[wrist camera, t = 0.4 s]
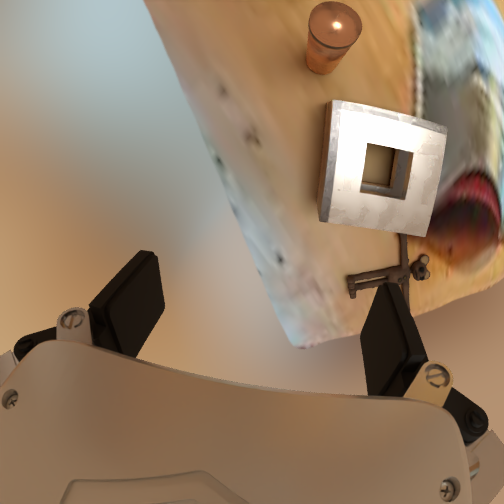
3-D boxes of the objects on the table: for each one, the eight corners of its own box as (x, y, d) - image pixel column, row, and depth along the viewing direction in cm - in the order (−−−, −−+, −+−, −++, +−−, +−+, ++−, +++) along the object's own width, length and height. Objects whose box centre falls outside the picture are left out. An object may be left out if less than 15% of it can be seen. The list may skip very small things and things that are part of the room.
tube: (306, 46, 29) (309, -3, 14) (336, 49, 28) (362, 6, 13) (304, 73, 30) (308, 40, 16) (335, 76, 30) (362, 48, 15)
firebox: (326, 103, 32) (333, 99, 25) (421, 123, 30) (447, 127, 23) (316, 200, 39) (319, 221, 32) (405, 214, 37) (425, 237, 30)
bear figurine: (339, 241, 38) (434, 224, 33) (338, 229, 42) (426, 213, 36) (354, 332, 45) (432, 319, 40) (354, 316, 49) (427, 303, 43)
